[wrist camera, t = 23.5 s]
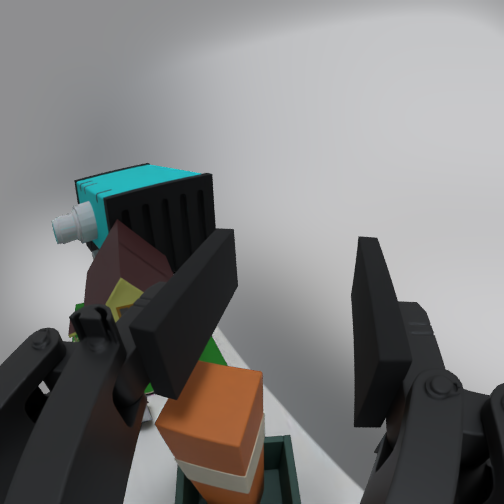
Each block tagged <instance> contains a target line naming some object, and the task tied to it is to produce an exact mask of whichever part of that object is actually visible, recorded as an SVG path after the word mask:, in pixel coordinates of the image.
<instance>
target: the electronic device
mask: <svg viewBox="0 0 504 504" xmlns="http://www.w3.org/2000/svg"><path fill="white" fill-rule="evenodd" d="M212 180H213V179H212V174H209V173H204V174H201V173H195V172H190V171H184V170H179V169H173V168H167V167H161V166H154V165H150V164H149V163H146V164H141V165H136V166H131V167H127V168H122V169H118V170H114V171H109V172H105V173H101V174H98V175H93V176H89V177H86V178H82V179H78V180H75V187H76V194H77V200H78V205H75V206H73V210H72V211H71V213H69V214H66V215H63V216H60V217H57V218H56V219H54V220H53V221H52V226H53V230H54V234H55V238H56V241H57V244H61V243H63V244H65V243H68V242H71V241H73V240H76V239H78V240H80V241H81V242H82V243H86V244H87V246H88V248H89V249H90V251H91V252H92V256H93V259H95V257H96V255H97V253H98V251H99V249H100V248H101V246H102V244H103V242H104V241H105V239H106V237H107V235H108V234H109V232H110V230H111V229H112V227H113V225H114V223H115V222H116V220H117V219H118V220H119V221H120V222H122V223H123V224H124V225H126V226H127V227H128V228H129V229H131V230H132V231H133V232H135V233H136V234H137V235H139V236H140V237H141V238H142V239H144V240H145V241H146V242H148V243H149V244H150V245H152V246H153V247H154V248H156V249H157V250H158V251H160V252H161V253H162V254H164V255H165V256H166V258H167V260H168V263H169V265H170V268H171V270H172V272H174V271H178V269H179V268H180V267H181V266H182V265H183V264H184V263H185V262H186V261H187V260H188V258H189V257H190V256H191V255H192V254H193V253H194V252H195V251H196V250H197V249H198V248H199V247H200V246H201V244H202V243H203V242H204V241H205V240H206V239H207V238H208V237H209V236H210V235H211V234H212V233H213V232H214V231H215V230H216V228H215V212H214V196H213V181H212Z"/></svg>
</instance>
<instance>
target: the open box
mask: <svg viewBox="0 0 504 504" xmlns="http://www.w3.org/2000/svg"><path fill="white" fill-rule="evenodd" d="M175 504H208V503H207V502H206V500H205V499H204V498H203V497H202V495H201V494H200V493H199V491H198V490H197V489H196V487H195V486H194V484H193V483H192V482H191V480H190V479H188V478H187V477H186V475H185V474H184V472H183V471H182V470H181V468H180V467H179V465H178V468H177V481H176V496H175ZM260 504H301V500H300V494H299V487H298V481H297V474H296V468H295V462H294V455H293V449H292V443H291V437H290V435H284V436H273V437H265V439H264V491H263V495H262V499H261V502H260Z"/></svg>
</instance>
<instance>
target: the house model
mask: <svg viewBox="0 0 504 504" xmlns="http://www.w3.org/2000/svg"><path fill="white" fill-rule="evenodd" d="M172 276H173V272H172V270H171V268H170V265H169V263H168V260H167V258H166V256H165V255H164V254H162V253H161V252H160V251H158V250H157V249H156V248H154V247H153V246H152V245H150V244H149V243H148V242H146V241H145V240H144V239H142V238H141V237H140V236H139V235H137V234H136V233H135V232H133V231H132V230H131V229H129V228H128V227H127V226H126V225H124V224H123V223H122V222H120V221H119V220H118V219H117V220H116V222H115V223H114V225H113V227H112V229H111V230H110V232H109V234H108V235H107V237H106V239H105V241H104V242H103V244H102V246H101V248H100V249H99V251H98V253H97V255H96V257H95V259H94V260H93V262H92V264H91V266H90V268H89V270H88V272H87V280H86V289H85V298H84V303H81V304H76V308H75V311H76V310H78V309H80V308H82V307H84V306H87V305H91V304H103V305H106V306H108V307H109V308H110V309H111V312H112V314H113V317H114V320H115V323H116V322H117V321H118V319H119V318H120V317H121V316H122V315H123V314H124V313H125V312H126V311H127V310H128V309H129V308H130V306H131V305H132V306H133V303H134V302H135V301H136V300H137V299H138V298H140V296H141V295H142V294H143V293H144V292H145V291H146V289H147V288H149V287H151V286H152V285H154V284H156V283H158V282H159V281H161V282H168V280H169V279H170V278H171V277H172ZM69 337H70V338H71V337H73V338H72V342H79V338H78V336H77V334H76V332H75V330H74V327H73V325H72V323H71V320H70V325H69ZM199 361H204V362H209V363H214V364H219V365H225V366H228V365H227V363H226V362H225V360H224V358H223V356H222V354H221V352H220V351H219V349H218V347H217V345H216V343H215V341H214V339H213V338H212V336H211V338H210V339H209V341H208V343H207V345H206V347H205V349H204V351H203V353H202V354H201V356H200V358H199ZM153 392H154V390H153V388H152V386H151V384H150V383H149V385H148V386H147V388H146V389H145V391H144V393H145V394H148V393H153Z"/></svg>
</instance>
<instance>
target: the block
mask: <svg viewBox="0 0 504 504" xmlns="http://www.w3.org/2000/svg"><path fill="white" fill-rule="evenodd" d="M262 376H263V375H262V372H261V371H254V370H249V369H242V368H236V367H230V366H225V365H219V364H214V363H209V362H204V361H199V360H198V362H197V364H196V366H195V368H194V369H193V371H192V373H191V375H190V377H189V379H188V381H187V383H186V384H185V386H184V388H183V390H182V392H181V394H180V396H179V398H178V399H177V400H174V399H170V398H168V400H167V402H166V404H165V406H164V407H163V409H162V411H161V413H160V415H159V417H158V419H157V420H156V422H155V425H156V427H157V429H158V431H159V432H160V434H161V436H162V437H163V439H164V441H165V442H166V444H167V446H168V447H169V449H170V450H171V452H172V453H173V455H174V457H175V461H176V462H177V464H178V465H179V467H180V468H181V470H182V471H183V472H184V474H185V475H186V477H187V478H188V479H190V480H191V482H192V483H193V484H194V486H195V487H196V489H197V490H198V491H199V493H200V494H201V495H202V497H203V498H204V499H205V500H206V502H207V503H208V504H260V502H261V499H262V495H263V491H264V439H265V418H264V413H263V380H262V379H263V377H262Z"/></svg>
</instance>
